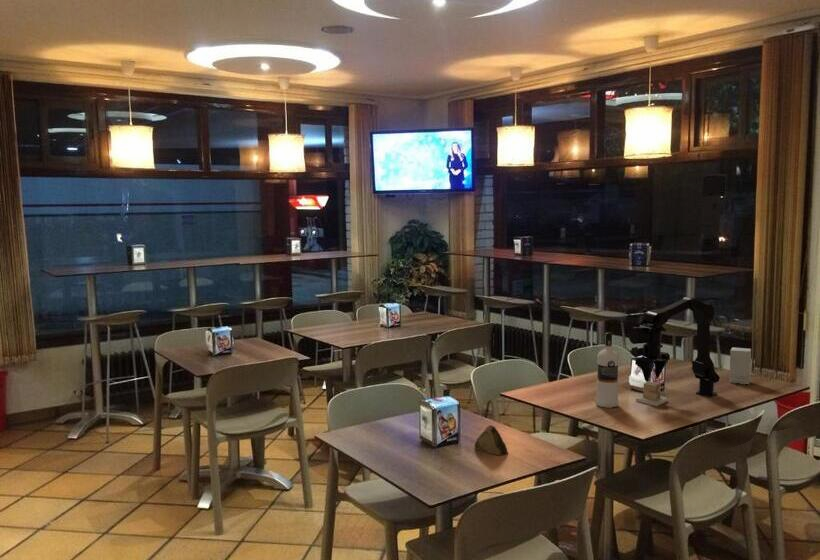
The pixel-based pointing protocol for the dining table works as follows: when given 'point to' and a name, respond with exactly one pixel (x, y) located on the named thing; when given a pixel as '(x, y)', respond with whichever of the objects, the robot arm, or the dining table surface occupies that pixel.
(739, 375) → the skincare box
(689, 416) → the dining table surface
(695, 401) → the dining table surface
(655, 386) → the oak block
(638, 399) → the trivet
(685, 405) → the dining table surface
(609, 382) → the vodka
